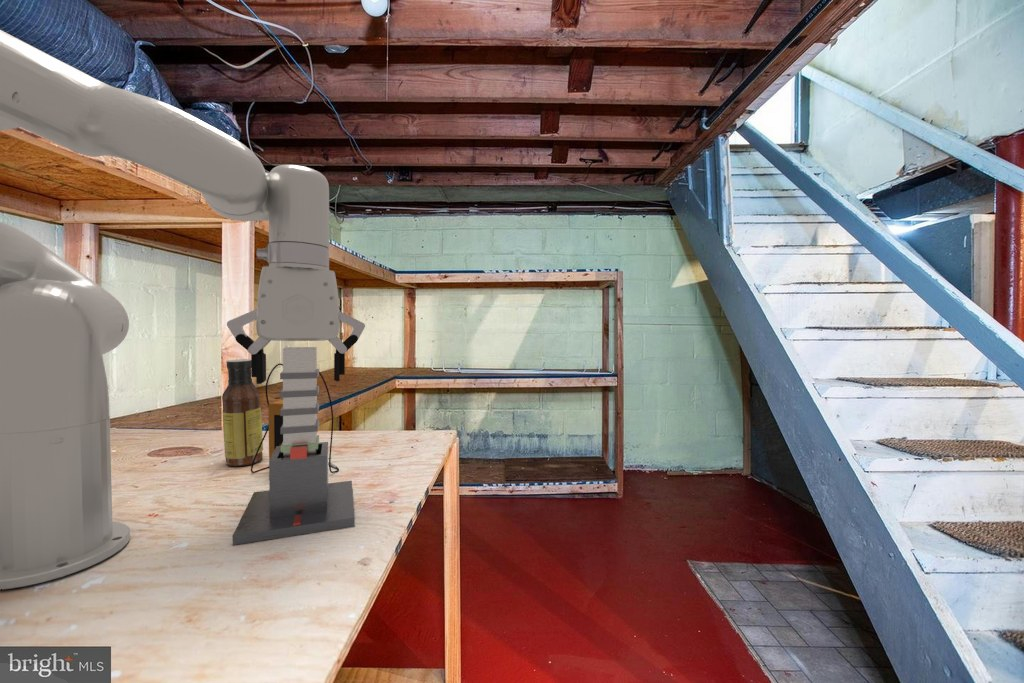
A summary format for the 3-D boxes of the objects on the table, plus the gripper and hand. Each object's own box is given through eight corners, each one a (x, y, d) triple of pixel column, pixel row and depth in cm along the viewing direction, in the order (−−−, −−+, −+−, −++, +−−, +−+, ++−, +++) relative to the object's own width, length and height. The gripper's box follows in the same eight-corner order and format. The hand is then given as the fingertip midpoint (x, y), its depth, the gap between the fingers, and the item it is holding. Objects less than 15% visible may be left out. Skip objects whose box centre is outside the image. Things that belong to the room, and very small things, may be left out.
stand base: (232, 545, 51) (231, 461, 51) (254, 499, 64) (253, 432, 64) (354, 526, 57) (354, 450, 56) (351, 487, 69) (351, 425, 69)
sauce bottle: (261, 455, 85) (260, 357, 84) (265, 463, 80) (264, 360, 79) (222, 460, 81) (220, 359, 80) (223, 470, 76) (222, 361, 75)
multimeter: (354, 461, 83) (354, 360, 82) (327, 479, 73) (326, 365, 72) (284, 457, 84) (283, 358, 83) (248, 475, 74) (247, 363, 73)
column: (280, 466, 57) (279, 349, 56) (284, 456, 61) (284, 347, 61) (317, 462, 59) (317, 348, 58) (319, 452, 63) (319, 346, 62)
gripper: (219, 251, 52) (221, 387, 53) (366, 261, 59) (366, 382, 59) (233, 259, 59) (234, 379, 60) (363, 267, 65) (363, 376, 66)
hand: (300, 381), depth 59 cm, fingers open, 9 cm apart
